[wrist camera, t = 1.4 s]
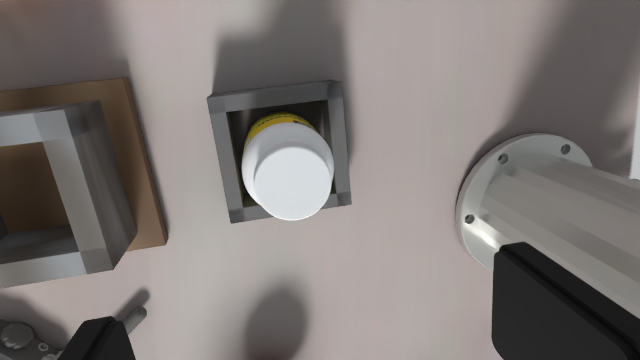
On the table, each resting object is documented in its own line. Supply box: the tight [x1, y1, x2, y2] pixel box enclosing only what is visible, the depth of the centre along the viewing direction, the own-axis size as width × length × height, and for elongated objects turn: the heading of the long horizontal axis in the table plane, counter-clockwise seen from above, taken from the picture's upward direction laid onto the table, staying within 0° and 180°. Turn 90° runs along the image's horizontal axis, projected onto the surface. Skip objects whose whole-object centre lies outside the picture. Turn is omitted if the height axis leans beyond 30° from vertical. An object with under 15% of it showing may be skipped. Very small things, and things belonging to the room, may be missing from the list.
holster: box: [207, 80, 351, 224], centre depth 27 cm, size 9×9×3 cm
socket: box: [0, 78, 168, 289], centre depth 24 cm, size 13×12×6 cm
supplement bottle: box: [242, 111, 334, 220], centre depth 24 cm, size 5×5×10 cm
